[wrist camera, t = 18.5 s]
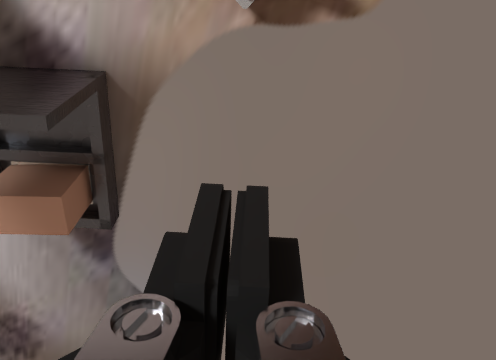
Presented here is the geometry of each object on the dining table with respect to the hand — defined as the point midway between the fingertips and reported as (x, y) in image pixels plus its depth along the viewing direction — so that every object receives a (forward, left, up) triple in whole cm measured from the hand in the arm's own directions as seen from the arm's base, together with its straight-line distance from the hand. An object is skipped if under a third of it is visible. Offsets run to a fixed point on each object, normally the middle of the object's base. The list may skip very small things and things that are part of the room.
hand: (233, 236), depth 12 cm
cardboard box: (-18, -13, -28) cm, 36 cm away
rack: (-18, -10, -29) cm, 36 cm away
